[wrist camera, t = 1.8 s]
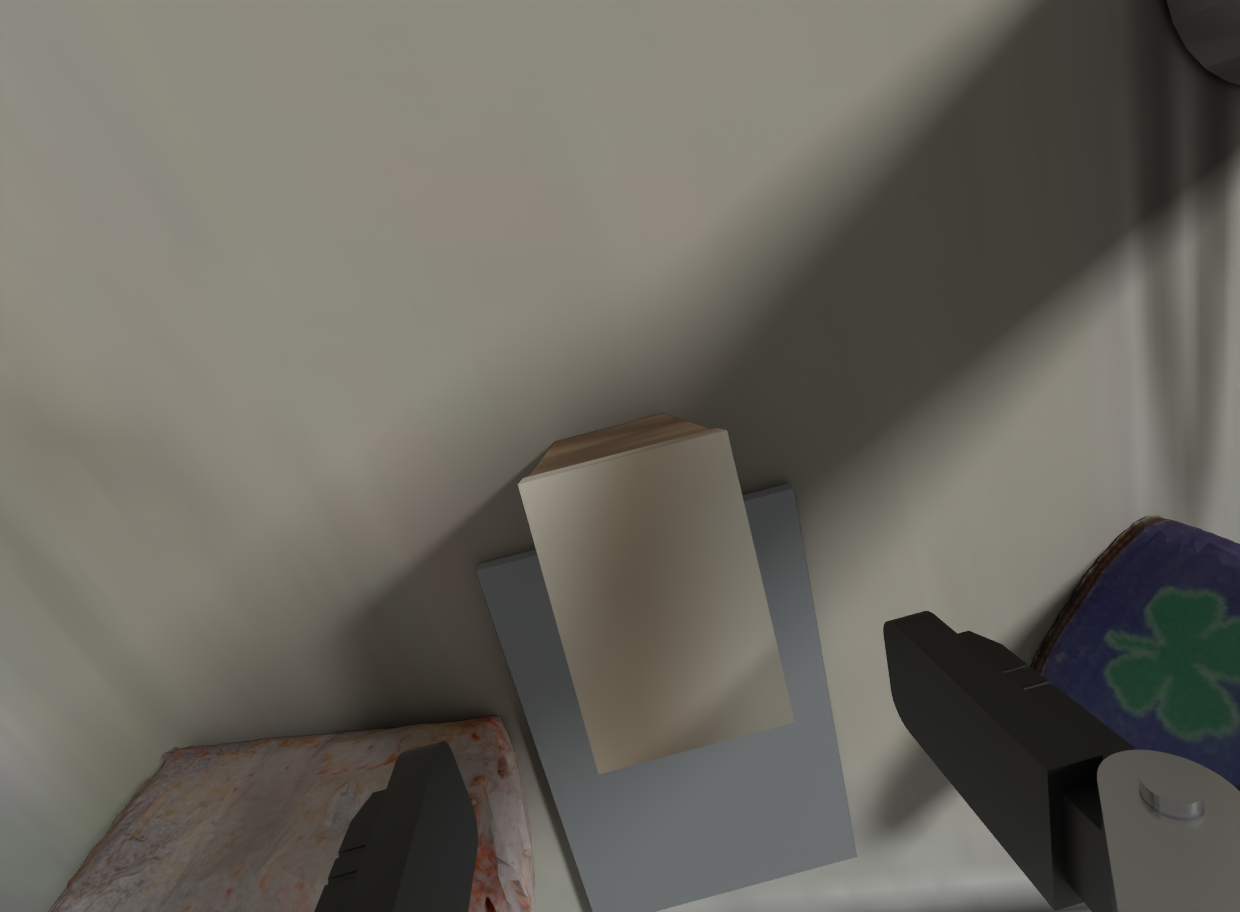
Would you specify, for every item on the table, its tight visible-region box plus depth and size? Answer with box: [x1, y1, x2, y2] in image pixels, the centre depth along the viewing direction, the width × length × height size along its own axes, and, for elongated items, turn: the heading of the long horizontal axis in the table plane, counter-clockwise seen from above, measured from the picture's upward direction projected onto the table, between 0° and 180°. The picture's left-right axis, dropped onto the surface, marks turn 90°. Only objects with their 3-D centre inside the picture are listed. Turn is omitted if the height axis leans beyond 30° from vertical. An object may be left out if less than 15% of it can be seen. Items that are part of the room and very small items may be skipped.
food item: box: [49, 716, 535, 912], centre depth 20 cm, size 14×8×10 cm, turn 93°
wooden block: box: [518, 414, 795, 774], centre depth 17 cm, size 4×6×10 cm
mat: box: [476, 484, 857, 912], centre depth 24 cm, size 12×18×1 cm, turn 14°
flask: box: [1032, 516, 1240, 785], centre depth 20 cm, size 9×3×11 cm, turn 153°
